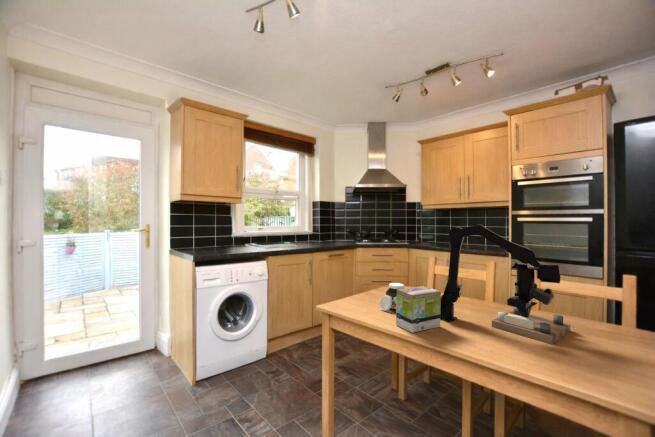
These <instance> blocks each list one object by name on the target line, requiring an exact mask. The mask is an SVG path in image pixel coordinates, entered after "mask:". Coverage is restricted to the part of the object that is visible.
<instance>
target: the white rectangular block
mask: <svg viewBox="0 0 655 437" xmlns="http://www.w3.org/2000/svg"><path fill="white" fill-rule="evenodd" d="M497 318H498V321H500V322H505V323H509V324H513V325H517V326H521V327H524V328H528V329H532V330H533V329H535V328H536V320H535V319H530V318H526V317H522V316H518V315H513V314H509V312H506V311H498V312H497Z"/></svg>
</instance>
